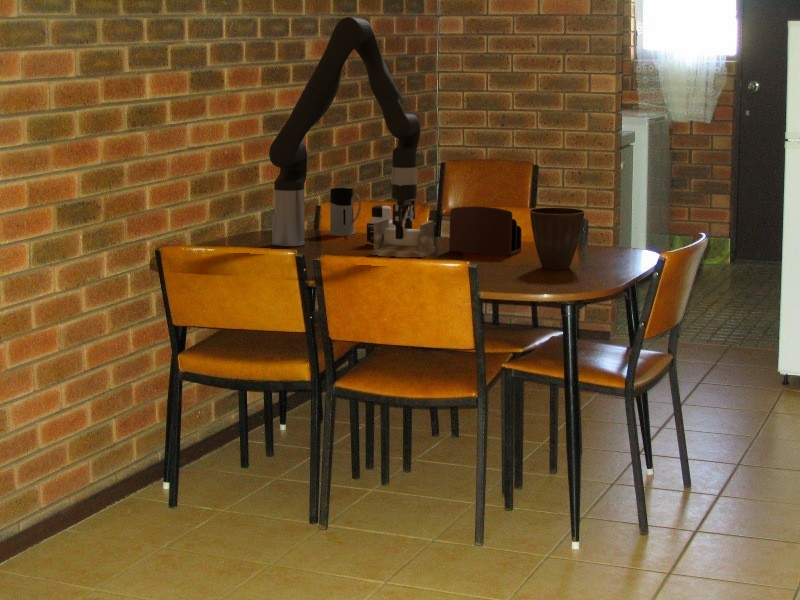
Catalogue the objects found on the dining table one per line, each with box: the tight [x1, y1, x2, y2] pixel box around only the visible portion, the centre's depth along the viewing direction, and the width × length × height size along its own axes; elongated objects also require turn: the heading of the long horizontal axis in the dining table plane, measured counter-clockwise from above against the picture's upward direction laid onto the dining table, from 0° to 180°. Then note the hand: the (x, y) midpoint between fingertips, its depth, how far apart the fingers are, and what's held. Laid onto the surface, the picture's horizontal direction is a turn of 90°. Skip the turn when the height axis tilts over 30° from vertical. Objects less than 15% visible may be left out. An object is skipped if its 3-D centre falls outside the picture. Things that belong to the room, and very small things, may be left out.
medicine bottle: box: [366, 204, 396, 246], centre depth 379 cm, size 7×7×12 cm
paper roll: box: [384, 228, 420, 247], centre depth 359 cm, size 11×6×6 cm, turn 71°
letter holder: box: [448, 206, 522, 256], centre depth 364 cm, size 10×20×14 cm, turn 66°
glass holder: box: [328, 187, 362, 237], centre depth 398 cm, size 9×14×15 cm, turn 40°
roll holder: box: [371, 219, 436, 258], centre depth 359 cm, size 15×14×10 cm
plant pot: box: [529, 207, 586, 271], centre depth 333 cm, size 15×15×16 cm
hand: (403, 237), depth 359 cm, fingers open, 8 cm apart
